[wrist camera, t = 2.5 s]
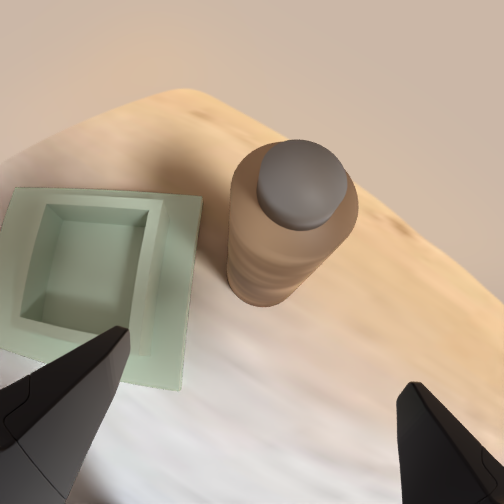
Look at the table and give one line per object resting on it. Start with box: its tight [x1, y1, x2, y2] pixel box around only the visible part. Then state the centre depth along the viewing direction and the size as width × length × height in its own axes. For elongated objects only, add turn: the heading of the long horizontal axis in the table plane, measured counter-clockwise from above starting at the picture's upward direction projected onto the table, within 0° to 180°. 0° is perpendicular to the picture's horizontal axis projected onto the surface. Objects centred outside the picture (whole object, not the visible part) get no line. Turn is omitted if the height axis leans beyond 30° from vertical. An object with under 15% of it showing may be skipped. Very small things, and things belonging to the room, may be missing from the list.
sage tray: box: [0, 187, 203, 391], centre depth 20 cm, size 18×14×4 cm
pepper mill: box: [227, 140, 358, 307], centre depth 17 cm, size 5×5×13 cm
